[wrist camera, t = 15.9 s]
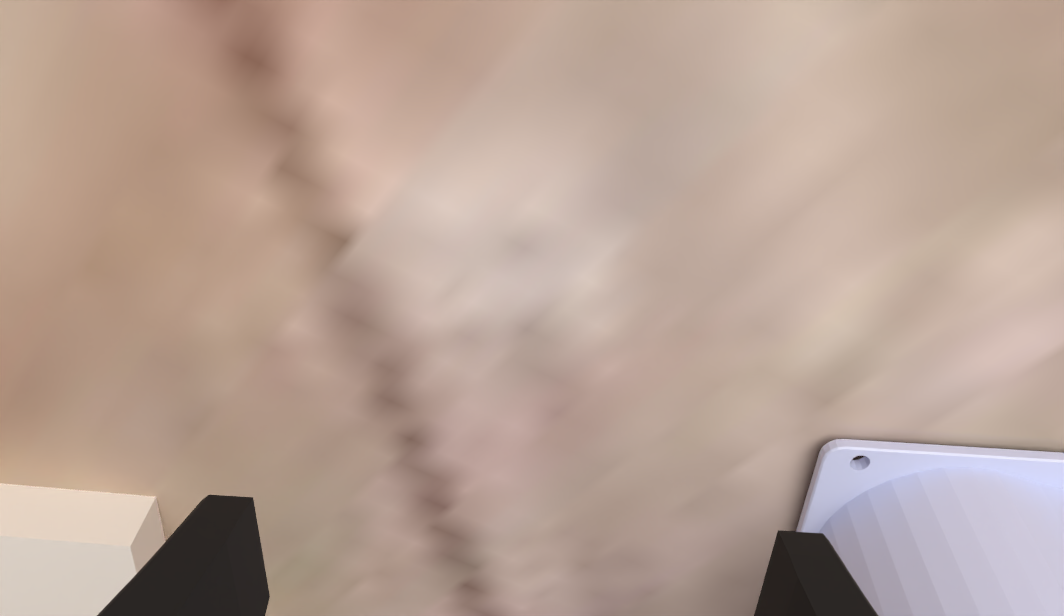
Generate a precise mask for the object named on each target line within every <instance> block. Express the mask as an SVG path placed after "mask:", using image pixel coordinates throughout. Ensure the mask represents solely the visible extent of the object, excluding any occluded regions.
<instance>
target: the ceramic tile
mask: <svg viewBox="0 0 1064 616" xmlns="http://www.w3.org/2000/svg"><path fill="white" fill-rule="evenodd" d="M165 542H166V541H165V537H164V532H163V527H162V522H161V517H160V512H159V507H158V503H157V498H156V497H154V496H142V495H130V494H118V493H107V492H95V491H83V490H71V489H60V488H48V487H36V486H25V485H13V484H1V483H0V616H97V615H98V614H99V613H100V612H101V611H102V610H103V609H104V608H105V607H106V606H107V604H108V603H109V602H110V601H111V600H112V599H113V598H114V597H115V596H116V595H117V594H118V593H119V592H120V591H121V590H122V589H123V588H124V587H125V586H126V585H127V583H128V582H129V581H130V580H131V579H132V578H133V577H134V576H135V575H136V574H137V573H138V572H139V571H140V570H141V568H142V567H143V566H144V565H145V564H146V563H147V562H148V561H149V560H150V559H151V557H152V556H153V555H154V554H155V553H156V552H157V551H158V550H159V549H160V547H161V546H162V545H163V544H164V543H165Z"/></svg>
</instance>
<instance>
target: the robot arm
mask: <svg viewBox="0 0 1064 616" xmlns="http://www.w3.org/2000/svg"><path fill="white" fill-rule="evenodd" d="M862 455H863V456H864V457H863V458H861V459H858V460H852V459H853V458H855V457H856V456H862ZM269 597H270V596H269V590H268V584H267V578H266V572H265V566H264V560H263V554H262V549H261V543H260V537H259V531H258V525H257V519H256V513H255V507H254V501H253V498H251V497H236V496H220V495H208V496H207V497H206V498H204V499H203V500H202V501H201V502H200V503H199V504H198V505H197V507H196V508H195V509H194V510H193V511H192V512H191V513H190V515H189V516H188V517H187V518H186V519H185V520H184V521H183V523H182V524H181V525H180V526H179V527H178V528H177V529H176V531H175V532H174V533H173V534H172V535H171V536H170V537H169V538H168V540H167V541H166V542H165V543H164V544H163V545H162V546H161V547H160V549H159V550H158V551H157V552H156V553H155V554H154V555H153V556H152V557H151V559H150V560H149V561H148V562H147V563H146V564H145V565H144V566H143V567H142V568H141V570H140V571H139V572H138V573H137V574H136V575H135V576H134V577H133V578H132V579H131V580H130V581H129V582H128V583H127V585H126V586H125V587H124V588H123V589H122V590H121V591H120V592H119V593H118V594H117V595H116V596H115V597H114V598H113V599H112V600H111V601H110V602H109V603H108V604H107V606H106V607H105V608H104V609H103V610H102V611H101V612H100V613H99V614H98V615H97V616H265V613H266V609H267V605H268V601H269ZM754 616H1064V453H1060V452H1044V451H1028V450H1012V449H996V448H980V447H964V446H948V445H932V444H916V443H900V442H884V441H868V440H852V439H836V440H833V441H830V442H828V443H826V444H825V445H824V446H823V447H822V449H821V450H820V452H819V456H818V459H817V462H816V466H815V469H814V473H813V476H812V479H811V483H810V486H809V489H808V493H807V496H806V499H805V503H804V506H803V510H802V513H801V516H800V520H799V523H798V526H797V530H796V532H792V531H778V533H777V536H776V540H775V544H774V547H773V551H772V554H771V558H770V561H769V565H768V568H767V572H766V576H765V579H764V583H763V586H762V590H761V593H760V597H759V600H758V604H757V607H756V611H755V615H754Z"/></svg>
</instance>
